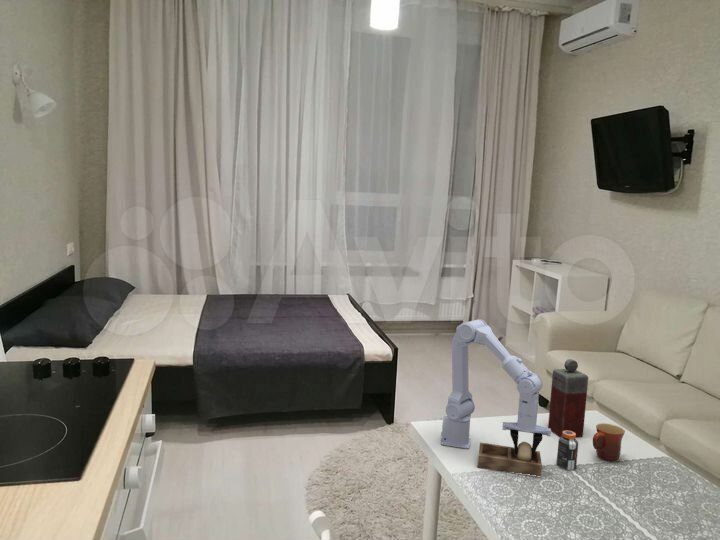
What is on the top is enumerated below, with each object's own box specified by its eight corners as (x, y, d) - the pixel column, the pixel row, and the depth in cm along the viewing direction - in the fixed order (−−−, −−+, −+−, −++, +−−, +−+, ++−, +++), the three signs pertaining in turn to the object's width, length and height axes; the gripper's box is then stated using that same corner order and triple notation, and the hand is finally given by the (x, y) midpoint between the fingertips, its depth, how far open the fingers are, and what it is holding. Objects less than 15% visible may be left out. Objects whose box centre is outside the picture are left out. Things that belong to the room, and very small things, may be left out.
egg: (516, 461, 166) (518, 444, 166) (516, 455, 170) (517, 438, 170) (531, 464, 165) (532, 446, 164) (530, 457, 169) (532, 440, 169)
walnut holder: (477, 467, 167) (478, 455, 166) (479, 453, 176) (479, 442, 176) (540, 477, 162) (541, 465, 161) (538, 463, 172) (539, 451, 171)
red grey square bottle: (564, 424, 204) (571, 354, 201) (583, 437, 193) (590, 362, 190) (544, 426, 202) (550, 354, 199) (561, 438, 191) (568, 363, 188)
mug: (604, 450, 183) (607, 421, 182) (627, 461, 175) (630, 431, 174) (580, 456, 178) (583, 427, 176) (603, 468, 170) (606, 437, 169)
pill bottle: (577, 471, 167) (580, 437, 165) (558, 469, 168) (561, 435, 167) (574, 462, 173) (577, 429, 171) (555, 460, 174) (557, 427, 172)
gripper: (550, 411, 168) (547, 452, 169) (503, 405, 172) (500, 445, 173) (552, 419, 161) (549, 462, 163) (503, 413, 165) (500, 454, 166)
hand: (524, 454), depth 167 cm, fingers closed on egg, 4 cm apart
